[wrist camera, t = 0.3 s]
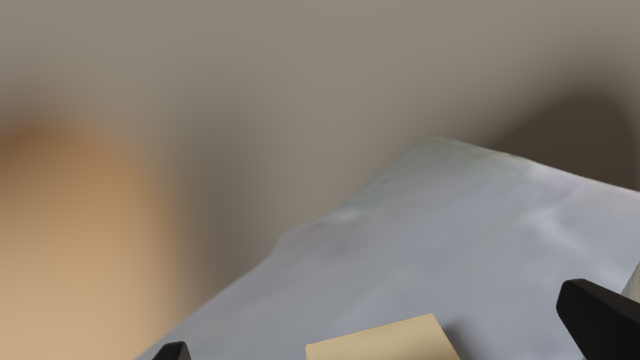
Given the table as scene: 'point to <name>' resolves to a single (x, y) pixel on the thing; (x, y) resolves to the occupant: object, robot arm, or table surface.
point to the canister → (632, 287)
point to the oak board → (389, 343)
